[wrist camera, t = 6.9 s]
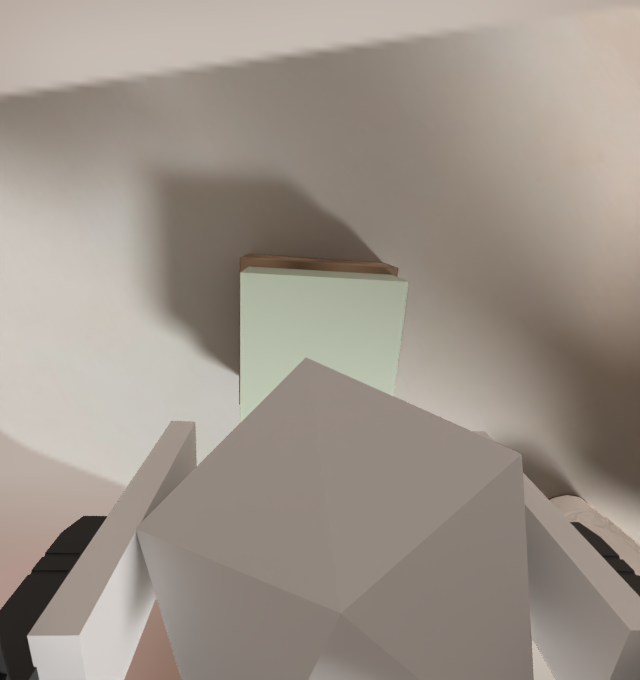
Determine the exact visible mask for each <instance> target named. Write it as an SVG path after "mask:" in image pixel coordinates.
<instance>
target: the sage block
mask: <svg viewBox="0 0 640 680" xmlns="http://www.w3.org/2000/svg"><path fill="white" fill-rule="evenodd" d="M408 285H409V282H408V281H405V280H403V279H401V278H399V277H396V276H394V275H389V274H372V273H355V272H337V271H320V270H303V269H285V268H268V267H251V266H249V267H247V268H246V269H245V270H243V271H242V272H240V423H241V422H242V421H243V420H244V419H245V418H246V417H247V416H248V415H249V414H250V413H251V412H252V411H253V410H254V409H255V408H256V407H257V406H258V405H259V404H260V403H261V402H262V401H263V400H264V399H265V398H266V397H267V396H268V395H269V394H270V393H271V392H272V391H273V390H274V389H275V388H276V387H277V386H278V385H279V384H280V383H281V382H282V381H283V380H284V379H285V378H286V377H287V376H288V375H289V374H290V373H291V372H292V371H293V370H294V369H295V368H296V367H297V366H298V365H299V364H300V363H301V362H302V361H303V360H304V359H305V358H309V359H311V360H313V361H315V362H318V363H320V364H322V365H324V366H327V367H329V368H331V369H333V370H335V371H338V372H340V373H342V374H344V375H347V376H349V377H351V378H353V379H356V380H358V381H360V382H362V383H365V384H367V385H369V386H371V387H373V388H376V389H378V390H380V391H382V392H385V393H387V394H389V395H391V396H394V392H395V384H396V376H397V369H398V361H399V353H400V346H401V338H402V330H403V323H404V315H405V308H406V300H407V292H408Z"/></svg>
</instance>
